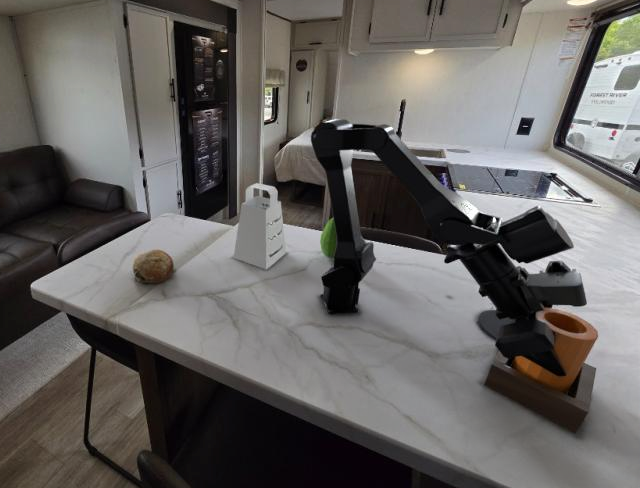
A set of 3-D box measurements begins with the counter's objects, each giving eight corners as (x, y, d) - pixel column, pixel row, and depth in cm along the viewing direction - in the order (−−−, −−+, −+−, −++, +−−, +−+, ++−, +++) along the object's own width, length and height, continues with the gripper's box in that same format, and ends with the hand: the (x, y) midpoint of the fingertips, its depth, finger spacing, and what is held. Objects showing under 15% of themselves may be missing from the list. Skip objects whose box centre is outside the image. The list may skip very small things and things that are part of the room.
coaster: (507, 353, 62) (508, 351, 61) (465, 313, 72) (465, 311, 71) (563, 348, 62) (564, 346, 62) (513, 310, 72) (514, 308, 72)
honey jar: (532, 407, 51) (566, 340, 46) (496, 370, 58) (522, 308, 53) (575, 404, 52) (612, 338, 47) (535, 368, 58) (564, 306, 53)
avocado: (316, 261, 91) (320, 220, 86) (321, 248, 97) (325, 209, 93) (347, 267, 88) (353, 225, 83) (350, 253, 95) (356, 213, 90)
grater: (254, 243, 101) (255, 178, 93) (285, 253, 95) (289, 185, 87) (233, 257, 93) (232, 188, 85) (266, 269, 88) (268, 196, 79)
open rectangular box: (575, 434, 48) (588, 412, 46) (483, 384, 55) (491, 364, 54) (584, 388, 55) (596, 368, 53) (501, 349, 62) (509, 330, 60)
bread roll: (132, 287, 87) (119, 269, 81) (152, 255, 93) (140, 236, 87) (165, 295, 83) (153, 278, 78) (183, 262, 89) (174, 243, 84)
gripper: (558, 282, 41) (648, 396, 39) (554, 230, 54) (621, 313, 52) (465, 308, 49) (537, 405, 47) (481, 257, 62) (538, 331, 60)
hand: (561, 360), depth 51 cm, fingers closed on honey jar, 7 cm apart
